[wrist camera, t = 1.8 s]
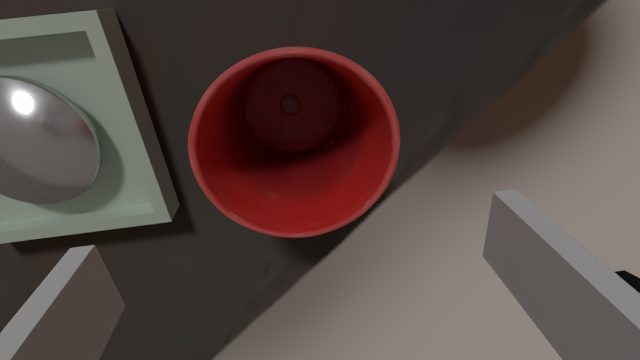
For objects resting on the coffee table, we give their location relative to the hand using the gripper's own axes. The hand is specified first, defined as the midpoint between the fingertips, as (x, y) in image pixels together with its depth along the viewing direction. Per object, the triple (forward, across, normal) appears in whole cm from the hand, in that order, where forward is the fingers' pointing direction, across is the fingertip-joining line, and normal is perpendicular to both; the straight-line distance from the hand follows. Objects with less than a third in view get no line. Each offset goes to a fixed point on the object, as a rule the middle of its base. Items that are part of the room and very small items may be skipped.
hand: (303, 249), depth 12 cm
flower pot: (+17, 0, 0) cm, 17 cm away
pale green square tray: (+17, -18, 0) cm, 25 cm away
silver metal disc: (+15, -18, 0) cm, 23 cm away
